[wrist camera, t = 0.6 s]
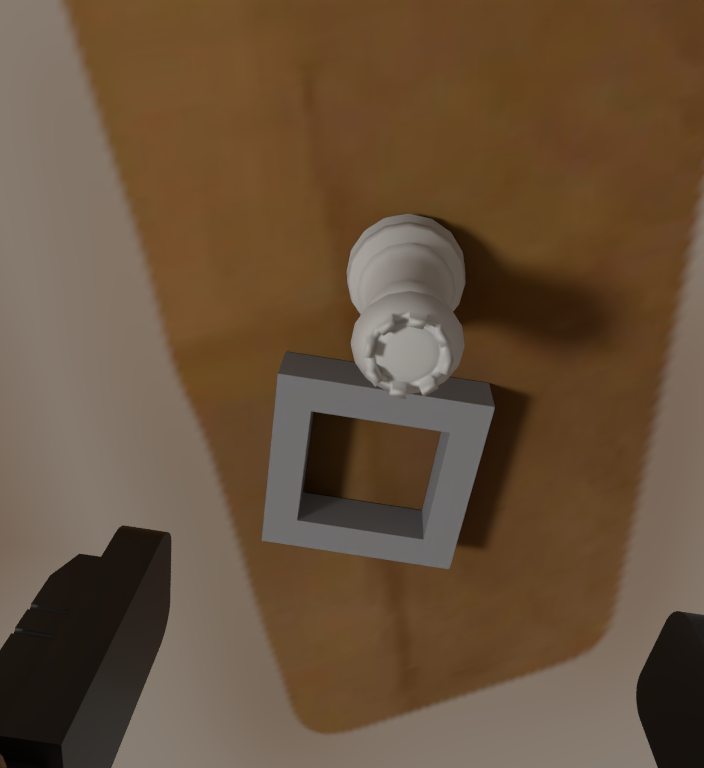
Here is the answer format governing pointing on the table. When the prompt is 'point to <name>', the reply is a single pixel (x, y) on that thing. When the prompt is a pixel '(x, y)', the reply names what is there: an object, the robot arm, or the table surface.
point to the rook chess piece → (407, 304)
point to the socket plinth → (363, 519)
